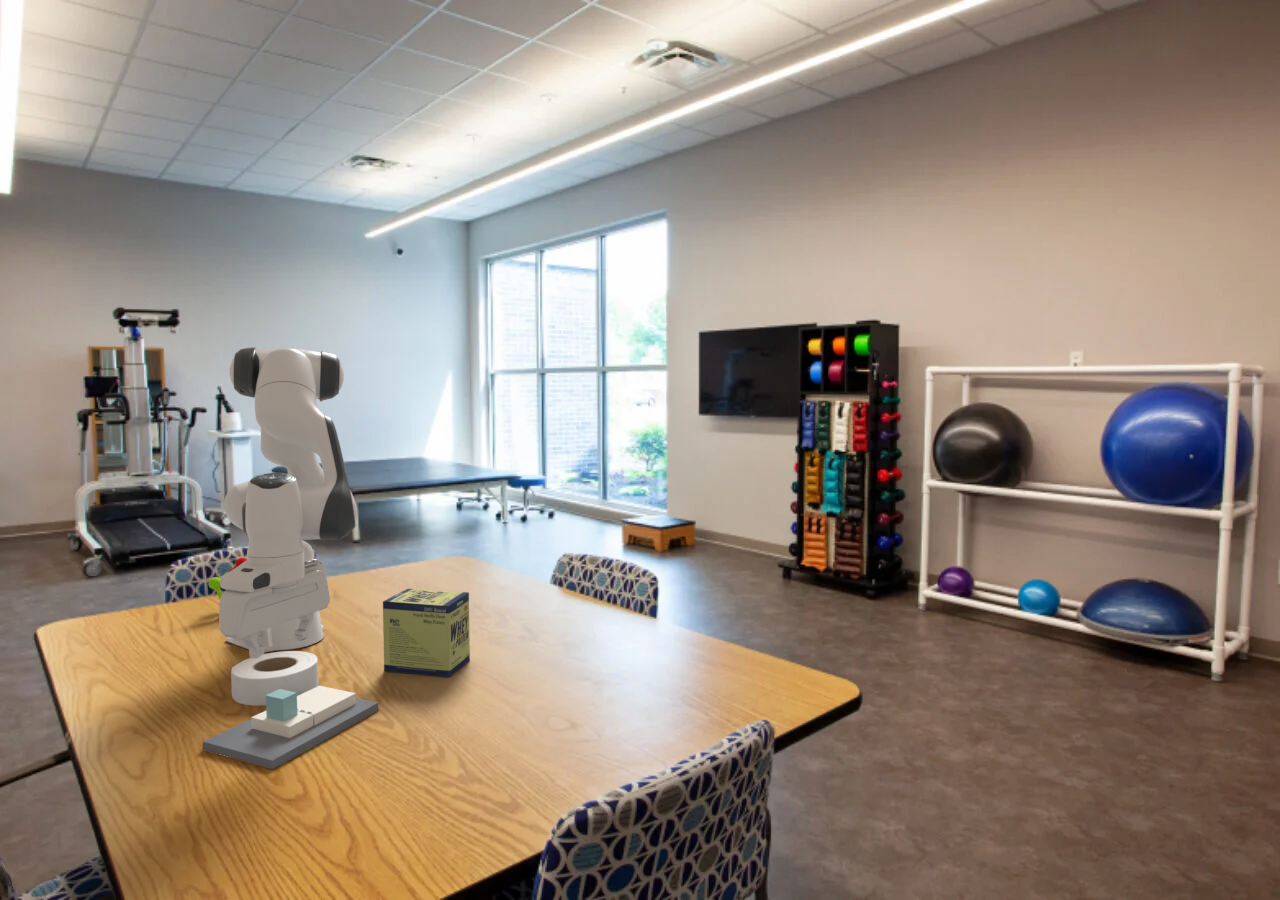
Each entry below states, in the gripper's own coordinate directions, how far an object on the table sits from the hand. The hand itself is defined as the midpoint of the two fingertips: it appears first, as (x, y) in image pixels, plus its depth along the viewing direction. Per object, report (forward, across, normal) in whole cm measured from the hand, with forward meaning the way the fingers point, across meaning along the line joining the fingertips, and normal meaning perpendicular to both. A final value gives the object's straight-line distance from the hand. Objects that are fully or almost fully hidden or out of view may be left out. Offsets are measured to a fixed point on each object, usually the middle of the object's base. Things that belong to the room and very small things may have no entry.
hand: (280, 648), depth 133 cm
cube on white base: (+14, 0, 0) cm, 14 cm away
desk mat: (+16, -3, 0) cm, 16 cm away
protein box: (+16, -37, +2) cm, 40 cm away
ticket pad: (+14, -8, 0) cm, 16 cm away
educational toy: (+15, -49, -69) cm, 86 cm away
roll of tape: (+16, -15, -18) cm, 28 cm away
